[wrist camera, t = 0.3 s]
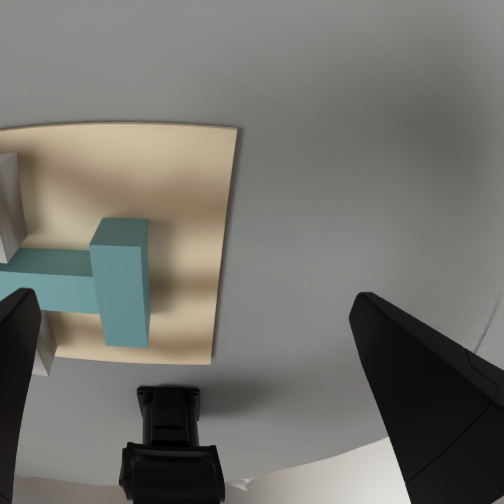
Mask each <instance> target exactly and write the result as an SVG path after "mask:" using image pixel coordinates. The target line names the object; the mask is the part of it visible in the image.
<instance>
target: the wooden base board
mask: <svg viewBox="0 0 504 504" xmlns="http://www.w3.org/2000/svg"><path fill="white" fill-rule="evenodd" d="M236 135H237V129H236V128H233V127H223V126H211V125H197V124H180V123H155V122H90V123H66V124H50V125H37V126H26V127H17V128H8V129H0V263H8V262H9V260H10V259H11V258H12V256H13V255H14V253H15V252H16V251H17V249H18V248H34V249H60V250H86V251H89V244H90V242H91V239H92V237H93V235H94V233H95V231H96V229H97V227H98V225H99V224H100V222H101V220H102V218H136V219H147V233H148V275H149V297H150V313H151V315H150V326H149V338H148V348H137V347H118V346H106V343H105V338H104V334H103V329H102V324H101V319H100V314H88V313H74V312H62V311H50V310H41V314H42V321H41V326H40V331H39V336H38V342H37V348H36V354H35V360H34V366H33V370H32V374H37V375H44V376H49V373H50V369H51V366H52V363H53V359H54V356H58V357H67V358H76V359H87V360H98V361H112V362H128V363H149V364H210V362H211V351H212V341H213V330H214V320H215V310H216V300H217V291H218V281H219V272H220V263H221V254H222V245H223V237H224V228H225V220H226V212H227V203H228V195H229V188H230V180H231V172H232V165H233V157H234V150H235V142H236Z"/></svg>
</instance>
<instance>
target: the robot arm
mask: <svg viewBox="0 0 504 504" xmlns="http://www.w3.org/2000/svg"><path fill="white" fill-rule="evenodd" d="M41 321H42V314H41V310H40V306H39V303H38V300H37V296H36V293H35V291H34V289H32V288H24V287H21V288H19V289H17V290H16V291H14V292H13V293H11V294H10V295H8V296H7V297H5V298H4V299H2V300H1V301H0V504H12V496H13V482H14V471H15V462H16V453H17V446H18V439H19V433H20V427H21V421H22V416H23V411H24V406H25V401H26V396H27V392H28V387H29V383H30V379H31V375H32V370H33V366H34V360H35V354H36V348H37V342H38V336H39V331H40V326H41ZM349 322H350V326H351V329H352V333H353V336H354V340H355V343H356V347H357V350H358V354H359V357H360V360H361V364H362V367H363V369H364V372H365V375H366V377H367V380H368V382H369V385H370V387H371V390H372V392H373V395H374V398H375V400H376V403H377V406H378V408H379V411H380V414H381V416H382V419H383V422H384V424H385V427H386V430H387V433H388V436H389V438H390V441H391V444H392V446H393V449H394V453H395V455H396V458H397V461H398V464H399V467H400V470H401V473H402V476H403V479H404V482H405V485H406V489H407V492H408V495H409V498H410V501H411V504H504V370H502V369H500V368H498V367H497V366H495V365H493V364H491V363H489V362H488V361H486V360H484V359H482V358H481V357H479V356H477V355H476V354H474V353H472V352H471V351H469V350H468V349H466V348H464V347H463V346H461V345H459V344H458V343H456V342H454V341H453V340H451V339H450V338H448V337H446V336H445V335H443V334H441V333H440V332H438V331H436V330H435V329H433V328H431V327H430V326H428V325H426V324H425V323H423V322H421V321H420V320H418V319H416V318H415V317H413V316H411V315H410V314H408V313H406V312H405V311H403V310H401V309H400V308H398V307H396V306H395V305H393V304H391V303H390V302H388V301H386V300H384V299H383V298H381V297H379V296H378V295H376V294H374V293H372V292H360V293H358V294H357V296H356V298H355V301H354V304H353V306H352V309H351V312H350V315H349ZM137 396H138V401H139V405H140V410H141V414H142V418H143V444H136V443H133V442H127V447H126V448H123V449H122V466H121V471H120V477H119V485H120V486H121V487H122V488H123V489H124V491H125V494H126V497H127V500H128V501H133V504H220V503H223V502H224V501H225V485H224V478H223V473H222V469H221V465H220V461H219V457H218V453H217V448H216V445H210V446H199V437H198V427H197V421H199V408H200V390H199V389H171V388H138V389H137Z"/></svg>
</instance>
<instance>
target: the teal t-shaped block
mask: <svg viewBox="0 0 504 504" xmlns="http://www.w3.org/2000/svg"><path fill="white" fill-rule="evenodd" d="M21 287H24V288H32V289H34V291H35V293H36V296H37V300H38V303H39V306H40V310H50V311H62V312H74V313H88V314H100V319H101V324H102V329H103V334H104V338H105V343H106V346H118V347H137V348H148V338H149V326H150V315H151V313H150V297H149V275H148V233H147V219H136V218H102V220H101V222H100V224H99V225H98V227H97V229H96V231H95V233H94V235H93V237H92V239H91V242H90V244H89V251H86V250H60V249H34V248H18V249H17V251H16V252H15V253H14V255H13V256H12V258H11V259H10V260H9V262H8V263H0V301H1V300H2V299H4V298H5V297H7V296H8V295H10V294H11V293H13V292H14V291H16V290H17V289H19V288H21Z"/></svg>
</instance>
